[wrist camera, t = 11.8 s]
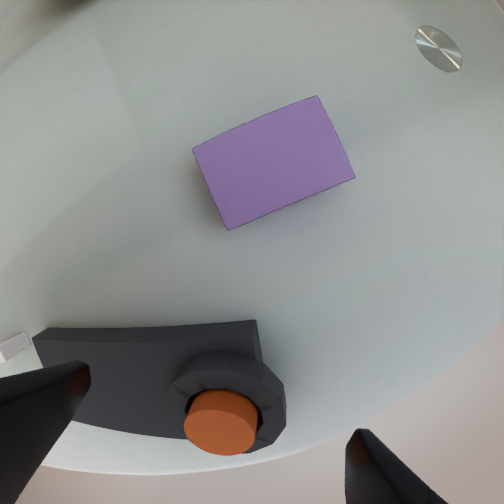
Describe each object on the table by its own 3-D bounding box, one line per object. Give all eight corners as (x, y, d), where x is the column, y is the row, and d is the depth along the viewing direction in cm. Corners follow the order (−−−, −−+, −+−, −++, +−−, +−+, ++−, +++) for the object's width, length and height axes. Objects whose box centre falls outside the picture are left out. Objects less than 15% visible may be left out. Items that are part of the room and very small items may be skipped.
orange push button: (252, 387, 14) (248, 409, 12) (261, 433, 14) (259, 455, 12) (184, 388, 14) (174, 408, 12) (201, 433, 15) (194, 454, 13)
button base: (277, 316, 16) (276, 352, 13) (290, 417, 18) (290, 459, 14) (47, 327, 19) (16, 347, 15) (81, 406, 20) (59, 431, 16)
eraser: (31, 344, 19) (5, 361, 16) (11, 351, 20) (-12, 366, 17) (25, 331, 19) (-2, 347, 16) (5, 340, 20) (-18, 354, 17)
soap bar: (310, 113, 14) (317, 94, 11) (341, 181, 15) (356, 177, 12) (208, 157, 15) (190, 148, 12) (237, 224, 16) (227, 231, 13)
